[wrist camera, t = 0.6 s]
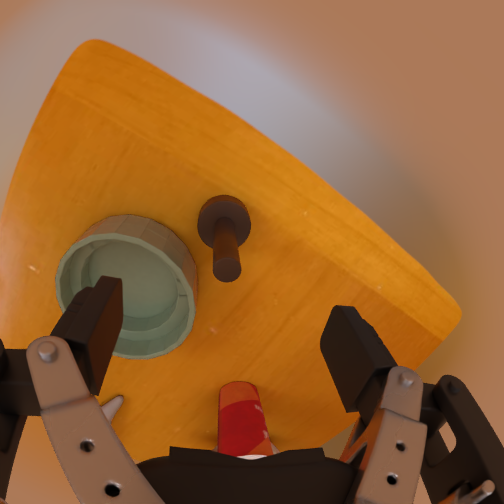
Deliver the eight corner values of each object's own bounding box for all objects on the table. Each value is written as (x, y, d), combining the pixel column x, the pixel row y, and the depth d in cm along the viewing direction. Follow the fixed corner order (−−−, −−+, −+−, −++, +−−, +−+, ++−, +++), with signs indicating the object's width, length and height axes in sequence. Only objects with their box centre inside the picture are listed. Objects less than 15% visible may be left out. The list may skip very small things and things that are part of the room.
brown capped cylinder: (196, 196, 30) (185, 238, 20) (247, 193, 31) (263, 233, 20) (201, 243, 32) (194, 303, 22) (249, 240, 33) (264, 298, 22)
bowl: (63, 220, 29) (38, 241, 24) (190, 206, 30) (183, 226, 25) (95, 328, 36) (82, 357, 30) (204, 324, 37) (204, 357, 31)
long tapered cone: (87, 398, 36) (65, 445, 39) (125, 412, 39) (95, 455, 42) (91, 372, 41) (68, 423, 45) (126, 386, 44) (96, 433, 47)
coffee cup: (251, 411, 46) (262, 487, 32) (205, 402, 44) (206, 483, 30) (274, 381, 43) (292, 465, 29) (223, 370, 41) (229, 461, 27)
